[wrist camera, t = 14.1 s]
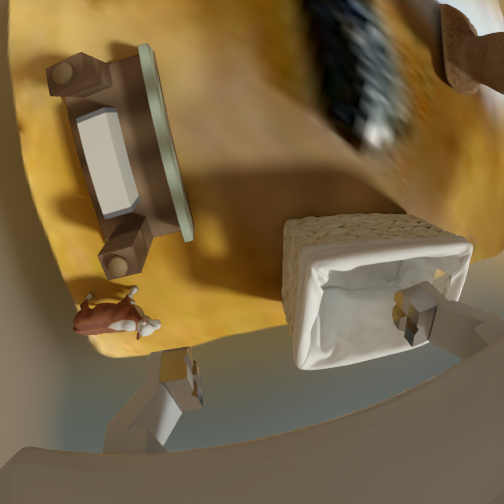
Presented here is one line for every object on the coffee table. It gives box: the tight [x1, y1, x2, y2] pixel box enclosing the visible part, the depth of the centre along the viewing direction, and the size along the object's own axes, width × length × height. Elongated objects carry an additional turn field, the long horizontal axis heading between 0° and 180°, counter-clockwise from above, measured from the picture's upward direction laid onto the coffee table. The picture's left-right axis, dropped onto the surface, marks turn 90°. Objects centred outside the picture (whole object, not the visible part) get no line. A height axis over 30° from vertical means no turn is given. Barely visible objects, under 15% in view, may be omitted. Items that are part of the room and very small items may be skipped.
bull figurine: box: [73, 286, 161, 340], centre depth 38 cm, size 4×13×8 cm, turn 92°
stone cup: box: [440, 4, 504, 95], centre depth 25 cm, size 15×12×15 cm
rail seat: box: [46, 43, 194, 280], centre depth 28 cm, size 23×12×11 cm, turn 10°
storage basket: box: [281, 213, 473, 370], centre depth 38 cm, size 24×16×15 cm
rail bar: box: [76, 107, 140, 220], centre depth 30 cm, size 12×4×4 cm, turn 10°
